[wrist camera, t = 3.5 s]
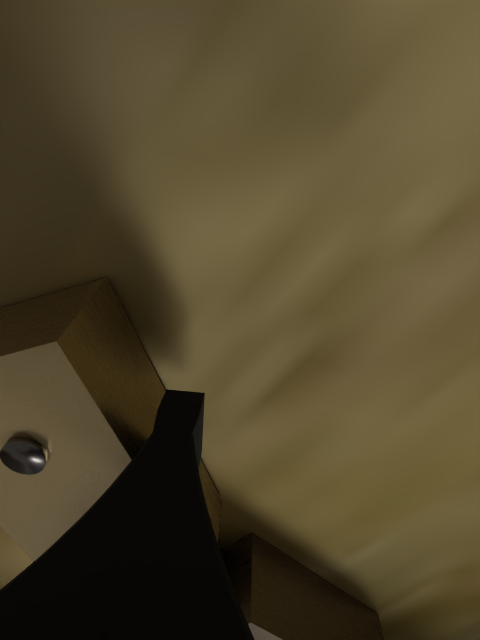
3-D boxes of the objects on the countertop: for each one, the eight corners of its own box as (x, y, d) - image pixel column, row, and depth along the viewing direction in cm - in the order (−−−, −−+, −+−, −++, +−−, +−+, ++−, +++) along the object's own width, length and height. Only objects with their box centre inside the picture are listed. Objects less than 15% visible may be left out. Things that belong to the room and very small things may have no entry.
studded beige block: (108, 519, 15) (76, 614, 13) (-41, 320, 11) (-138, 398, 8) (221, 499, 15) (213, 597, 12) (106, 277, 10) (51, 346, 8)
